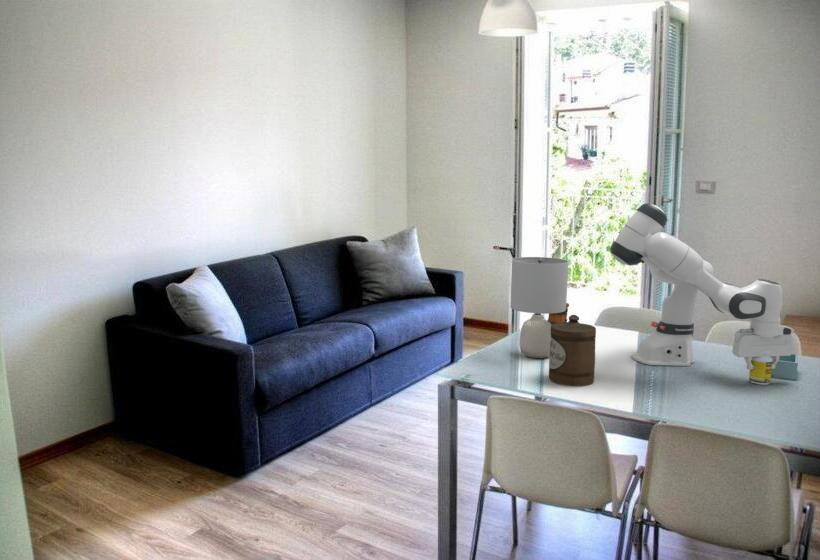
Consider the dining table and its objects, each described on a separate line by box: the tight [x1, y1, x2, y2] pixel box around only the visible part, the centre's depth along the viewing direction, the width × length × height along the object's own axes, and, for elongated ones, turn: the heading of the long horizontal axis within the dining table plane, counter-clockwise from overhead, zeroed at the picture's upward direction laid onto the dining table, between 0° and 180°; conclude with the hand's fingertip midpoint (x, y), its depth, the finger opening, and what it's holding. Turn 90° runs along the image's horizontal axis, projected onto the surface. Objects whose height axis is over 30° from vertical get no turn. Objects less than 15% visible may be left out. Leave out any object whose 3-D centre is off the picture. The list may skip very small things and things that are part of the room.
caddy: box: [770, 353, 799, 381], centre depth 250 cm, size 14×14×6 cm
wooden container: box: [548, 314, 597, 387], centre depth 237 cm, size 15×15×22 cm
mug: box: [547, 302, 570, 325], centre depth 312 cm, size 13×10×12 cm
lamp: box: [509, 256, 569, 359], centre depth 266 cm, size 20×20×37 cm
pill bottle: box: [748, 350, 773, 386], centre depth 238 cm, size 6×6×12 cm
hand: (760, 369), depth 238 cm, fingers closed on pill bottle, 6 cm apart
